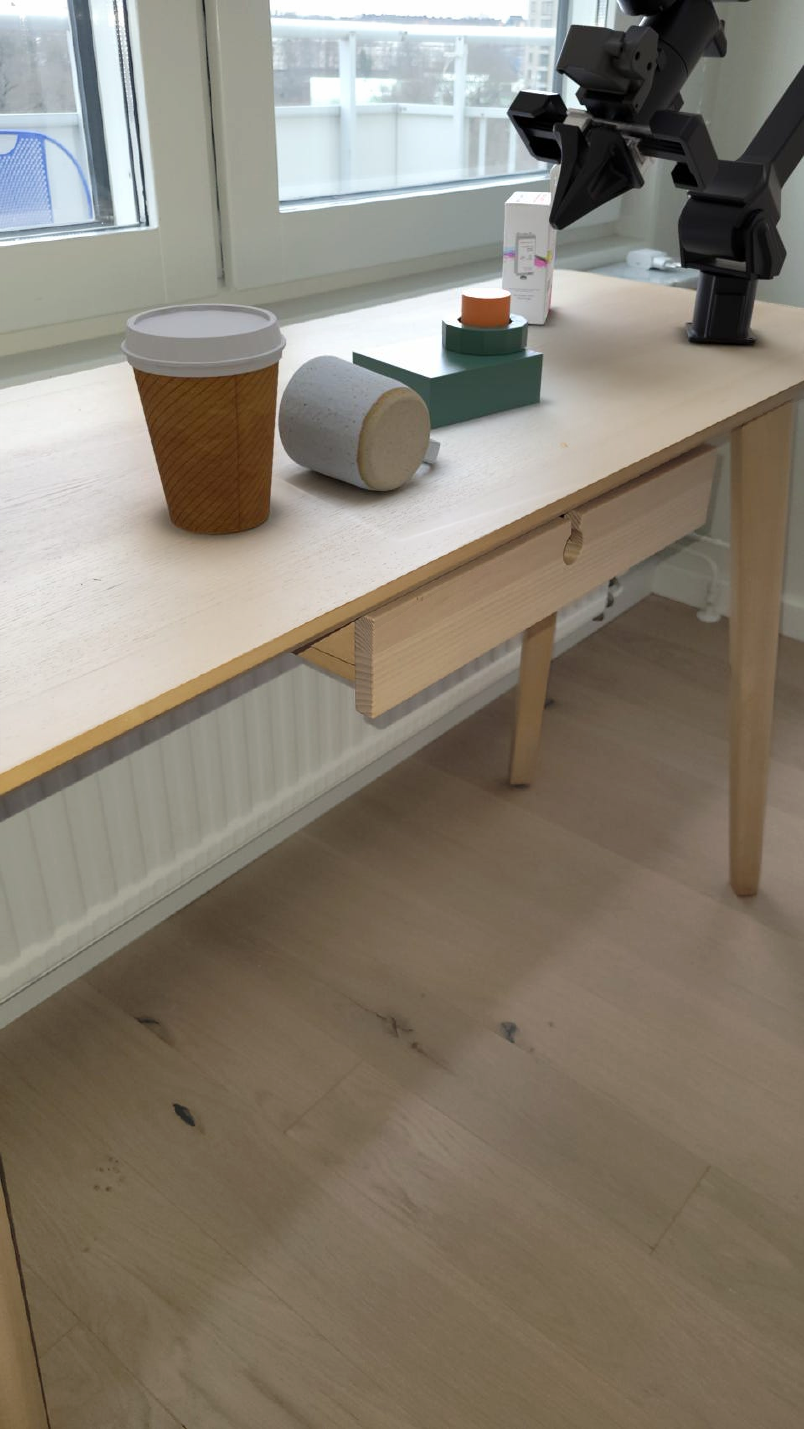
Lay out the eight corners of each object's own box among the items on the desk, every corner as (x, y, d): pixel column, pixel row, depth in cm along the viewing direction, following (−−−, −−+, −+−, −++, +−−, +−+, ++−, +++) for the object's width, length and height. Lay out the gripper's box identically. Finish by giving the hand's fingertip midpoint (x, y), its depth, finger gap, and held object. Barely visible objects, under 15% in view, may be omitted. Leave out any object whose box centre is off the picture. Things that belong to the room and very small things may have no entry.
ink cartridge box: (507, 306, 120) (515, 159, 112) (551, 308, 119) (563, 160, 111) (497, 323, 113) (505, 168, 105) (544, 326, 112) (556, 169, 104)
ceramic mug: (363, 509, 69) (363, 389, 65) (277, 478, 73) (272, 364, 69) (467, 470, 76) (473, 359, 72) (382, 444, 80) (383, 338, 76)
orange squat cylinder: (486, 317, 91) (487, 286, 89) (519, 326, 88) (521, 294, 87) (450, 324, 89) (451, 292, 87) (483, 333, 86) (484, 300, 85)
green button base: (472, 373, 96) (475, 304, 93) (552, 399, 90) (558, 325, 87) (353, 400, 89) (351, 325, 86) (429, 430, 83) (431, 351, 79)
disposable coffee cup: (152, 490, 72) (129, 302, 65) (295, 486, 72) (285, 300, 66) (135, 547, 64) (106, 341, 57) (295, 543, 64) (284, 338, 58)
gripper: (531, -25, 87) (428, 140, 87) (727, -14, 76) (608, 176, 76) (582, 80, 96) (489, 230, 96) (764, 104, 85) (657, 273, 85)
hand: (554, 226), depth 88 cm, fingers closed
